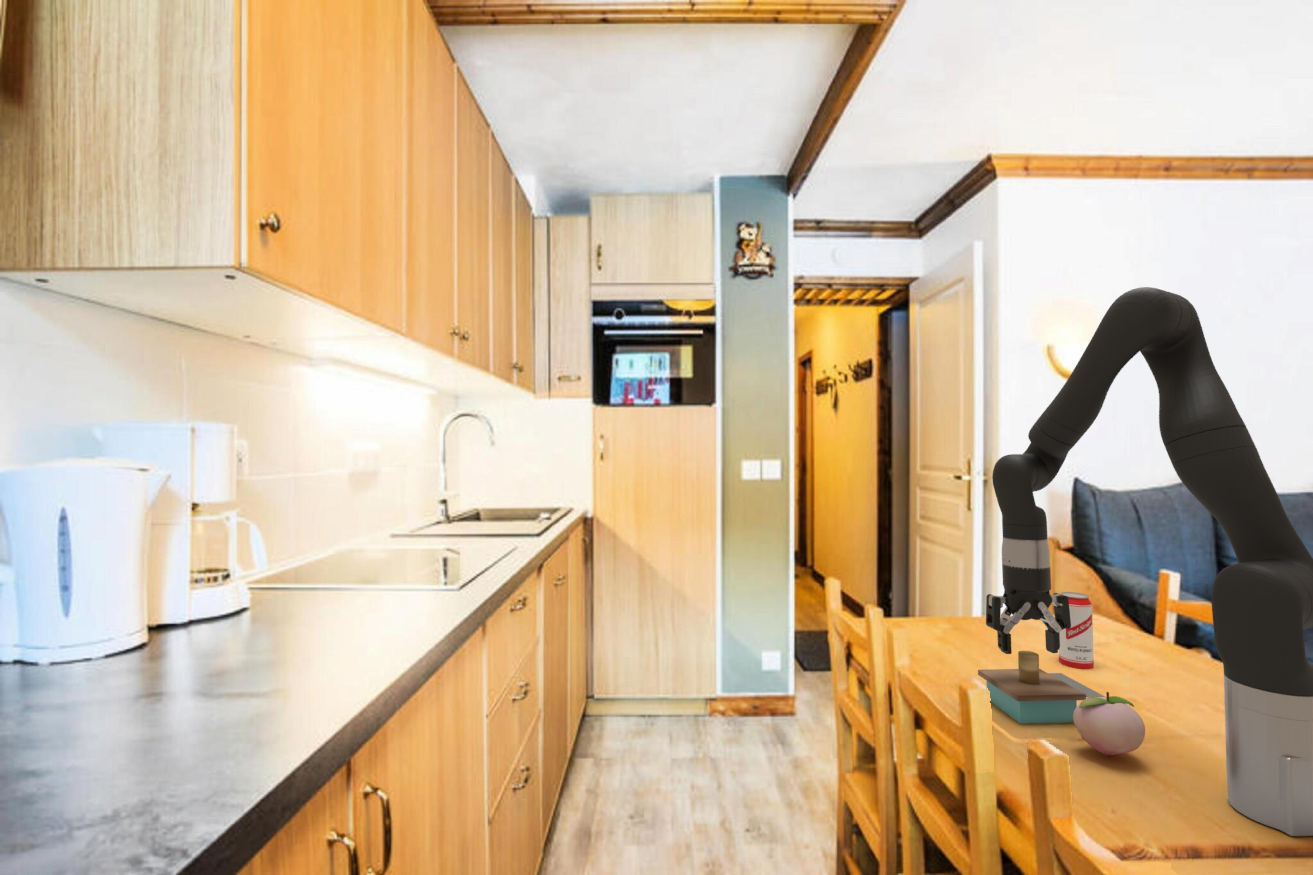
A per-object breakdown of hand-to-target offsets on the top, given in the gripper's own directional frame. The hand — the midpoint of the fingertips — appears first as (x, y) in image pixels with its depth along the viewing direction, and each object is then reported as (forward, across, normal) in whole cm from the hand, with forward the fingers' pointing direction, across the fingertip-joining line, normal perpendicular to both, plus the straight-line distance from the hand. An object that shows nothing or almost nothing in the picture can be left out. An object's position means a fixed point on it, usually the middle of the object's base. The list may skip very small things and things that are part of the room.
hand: (1029, 652), depth 108 cm
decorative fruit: (+12, +3, -15) cm, 19 cm away
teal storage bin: (+11, 0, 0) cm, 11 cm away
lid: (+6, 0, 0) cm, 6 cm away
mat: (+11, +12, +11) cm, 20 cm away
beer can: (+11, +25, +22) cm, 35 cm away
